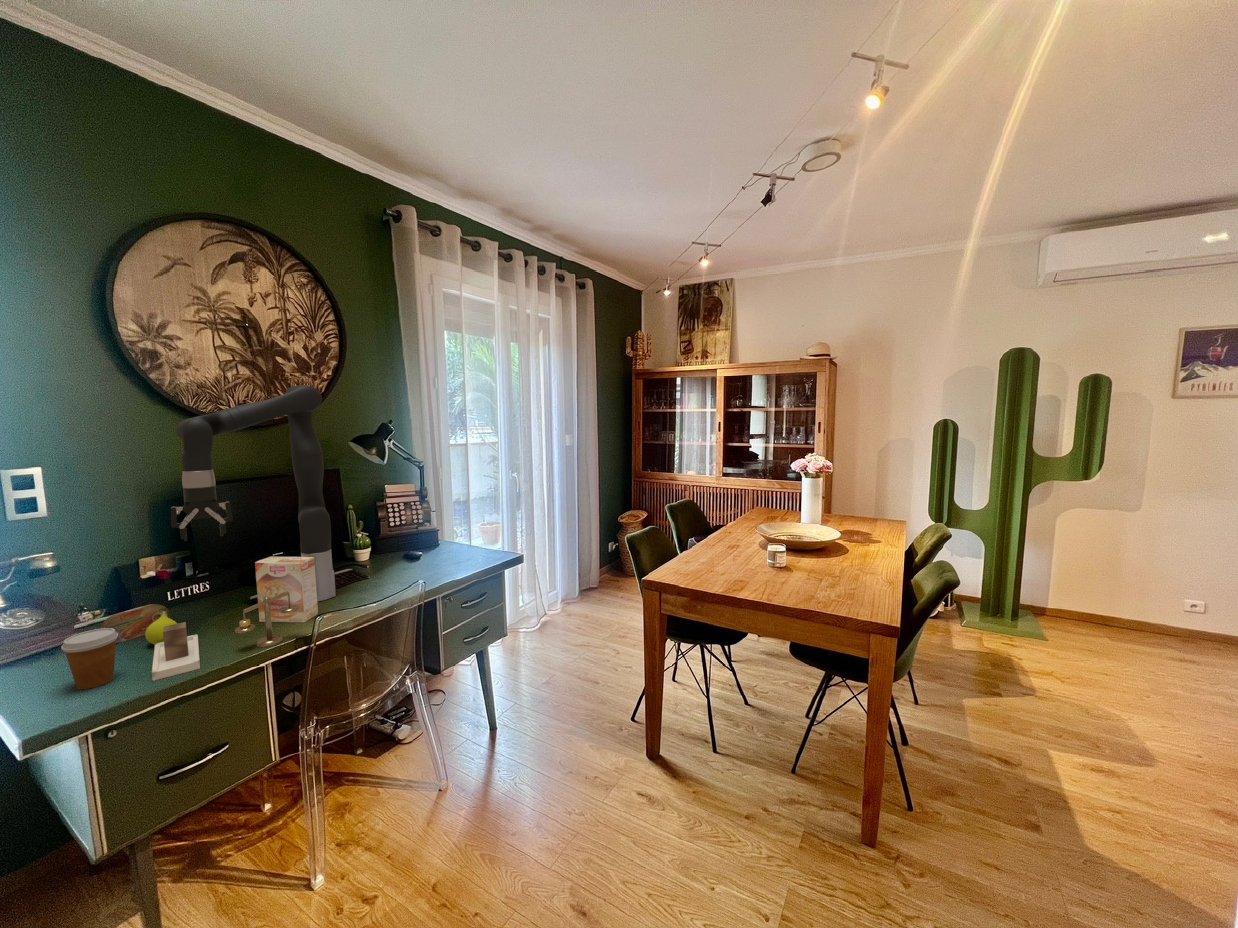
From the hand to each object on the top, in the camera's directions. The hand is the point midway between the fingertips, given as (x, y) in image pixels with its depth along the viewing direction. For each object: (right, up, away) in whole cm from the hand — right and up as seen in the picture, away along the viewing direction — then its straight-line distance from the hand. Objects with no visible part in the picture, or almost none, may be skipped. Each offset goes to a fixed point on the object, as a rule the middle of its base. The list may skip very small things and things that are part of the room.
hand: (204, 537), depth 150 cm
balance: (+26, -29, -8) cm, 39 cm away
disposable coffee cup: (-3, -31, -29) cm, 43 cm away
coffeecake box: (+20, -28, +9) cm, 35 cm away
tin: (-17, -29, -3) cm, 34 cm away
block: (+7, -29, -17) cm, 35 cm away
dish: (+7, -30, -17) cm, 35 cm away
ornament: (-5, -29, -8) cm, 31 cm away
